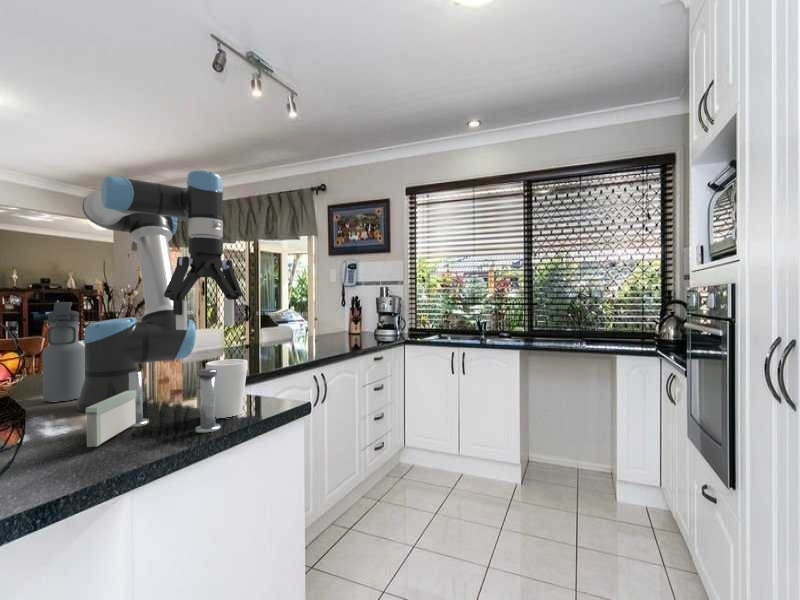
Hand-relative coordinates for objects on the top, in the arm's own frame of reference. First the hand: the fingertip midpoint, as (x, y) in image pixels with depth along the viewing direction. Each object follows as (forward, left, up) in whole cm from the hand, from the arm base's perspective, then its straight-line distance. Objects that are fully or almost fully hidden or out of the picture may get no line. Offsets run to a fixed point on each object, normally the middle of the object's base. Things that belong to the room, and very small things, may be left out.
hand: (206, 327), depth 100 cm
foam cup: (+3, +3, -22) cm, 22 cm away
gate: (-10, -16, -21) cm, 28 cm away
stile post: (+6, -8, -22) cm, 24 cm away
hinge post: (-13, -8, -22) cm, 27 cm away
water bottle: (-54, +8, -22) cm, 59 cm away
